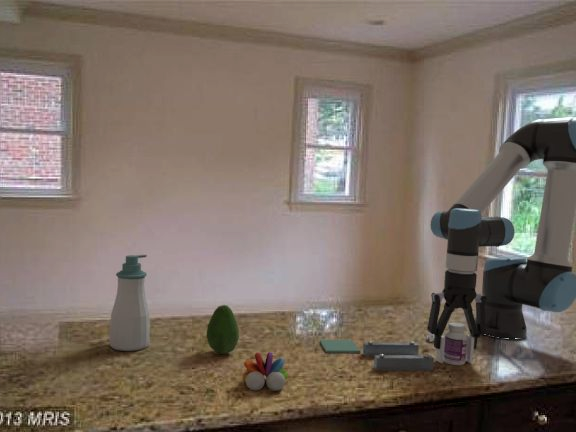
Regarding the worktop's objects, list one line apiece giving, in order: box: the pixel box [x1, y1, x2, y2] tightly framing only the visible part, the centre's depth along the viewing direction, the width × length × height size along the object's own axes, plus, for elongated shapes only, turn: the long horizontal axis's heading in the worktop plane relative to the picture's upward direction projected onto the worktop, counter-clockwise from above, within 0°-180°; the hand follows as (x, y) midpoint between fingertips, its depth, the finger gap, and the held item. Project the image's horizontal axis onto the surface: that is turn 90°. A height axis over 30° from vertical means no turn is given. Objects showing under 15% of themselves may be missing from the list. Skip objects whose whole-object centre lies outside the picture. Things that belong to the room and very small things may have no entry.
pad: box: [319, 339, 362, 354], centre depth 147 cm, size 9×9×1 cm
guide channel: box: [362, 340, 435, 372], centre depth 138 cm, size 14×12×4 cm
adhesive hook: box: [426, 331, 434, 343], centre depth 157 cm, size 3×3×3 cm
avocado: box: [206, 304, 240, 355], centre depth 137 cm, size 8×8×12 cm
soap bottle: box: [108, 254, 151, 352], centre depth 139 cm, size 10×10×23 cm
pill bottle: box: [443, 322, 468, 366], centre depth 139 cm, size 5×5×10 cm
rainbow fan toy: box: [241, 351, 289, 392], centre depth 119 cm, size 8×10×7 cm
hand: (454, 361), depth 140 cm, fingers open, 7 cm apart
